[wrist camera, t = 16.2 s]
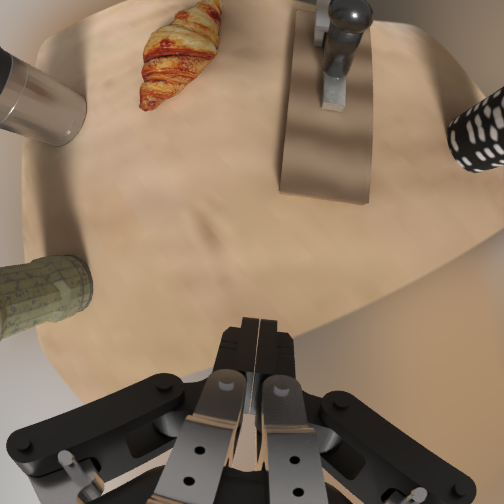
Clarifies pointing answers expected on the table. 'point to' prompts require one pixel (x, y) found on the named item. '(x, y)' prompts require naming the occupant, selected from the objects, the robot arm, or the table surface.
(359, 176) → the door board
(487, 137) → the spotted tube
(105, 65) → the table surface
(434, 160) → the table surface
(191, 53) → the croissant
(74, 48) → the table surface
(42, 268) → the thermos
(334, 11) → the bolt
